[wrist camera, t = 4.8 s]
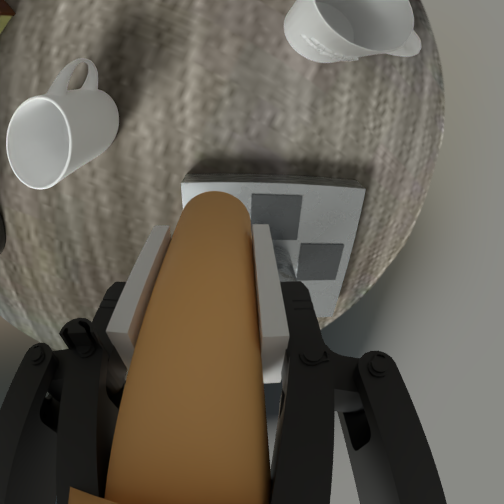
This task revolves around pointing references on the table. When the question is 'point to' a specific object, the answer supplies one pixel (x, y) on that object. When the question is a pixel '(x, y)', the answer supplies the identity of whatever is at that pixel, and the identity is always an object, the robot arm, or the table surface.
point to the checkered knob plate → (297, 224)
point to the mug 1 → (61, 129)
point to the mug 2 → (351, 29)
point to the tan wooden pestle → (195, 374)
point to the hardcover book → (5, 14)
